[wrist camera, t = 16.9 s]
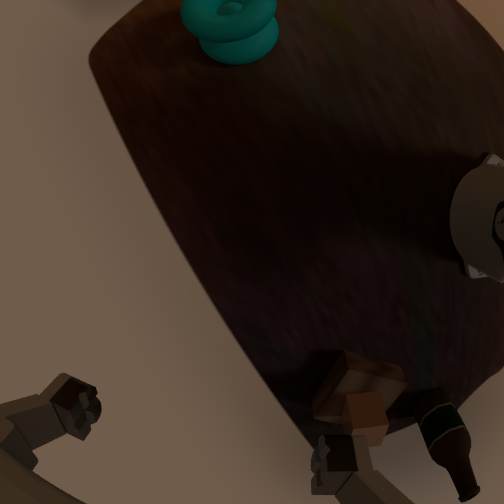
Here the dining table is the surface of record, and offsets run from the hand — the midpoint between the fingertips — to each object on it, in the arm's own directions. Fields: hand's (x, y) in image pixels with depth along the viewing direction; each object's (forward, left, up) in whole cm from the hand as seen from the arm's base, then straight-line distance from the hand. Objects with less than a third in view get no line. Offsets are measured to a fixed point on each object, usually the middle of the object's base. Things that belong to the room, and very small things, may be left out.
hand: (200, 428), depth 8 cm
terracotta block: (-18, +22, -24) cm, 38 cm away
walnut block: (-18, +22, -30) cm, 41 cm away
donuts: (+6, -26, -29) cm, 40 cm away
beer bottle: (-36, +27, -29) cm, 54 cm away
